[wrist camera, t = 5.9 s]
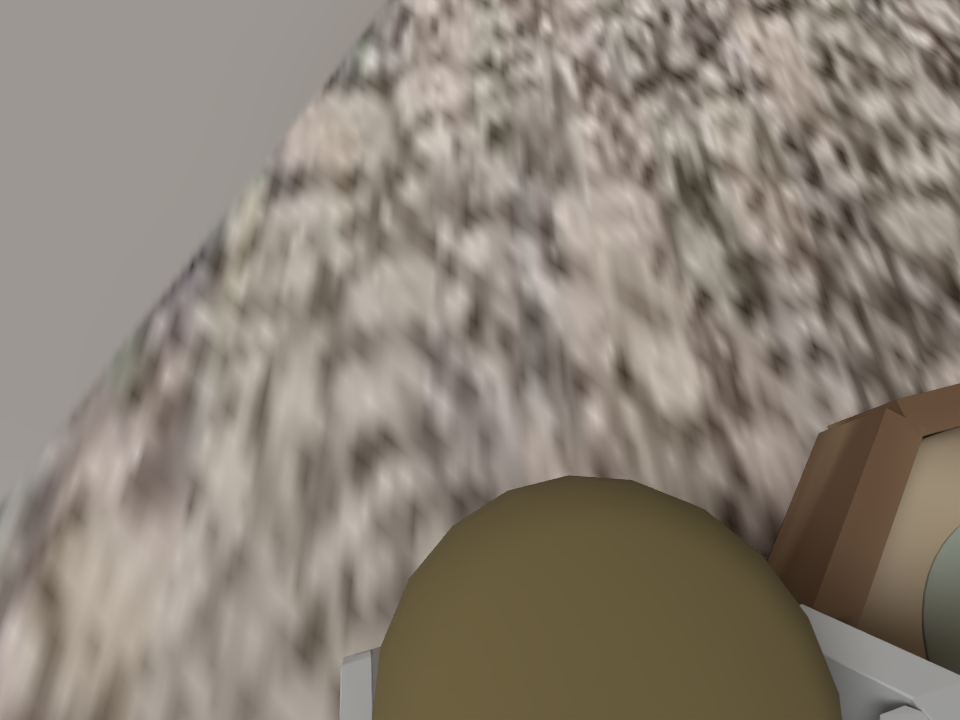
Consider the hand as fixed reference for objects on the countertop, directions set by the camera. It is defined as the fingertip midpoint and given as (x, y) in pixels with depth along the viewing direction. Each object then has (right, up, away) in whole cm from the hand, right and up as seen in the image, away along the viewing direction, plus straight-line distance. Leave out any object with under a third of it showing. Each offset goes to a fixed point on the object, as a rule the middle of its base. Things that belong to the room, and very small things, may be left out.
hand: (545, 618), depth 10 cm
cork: (0, -3, +5) cm, 6 cm away
